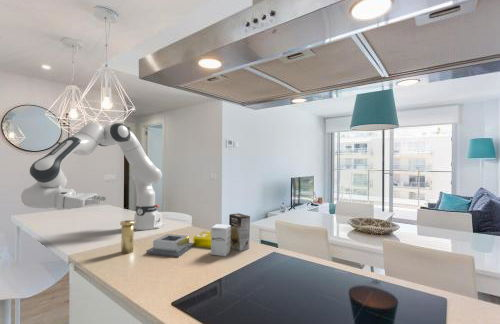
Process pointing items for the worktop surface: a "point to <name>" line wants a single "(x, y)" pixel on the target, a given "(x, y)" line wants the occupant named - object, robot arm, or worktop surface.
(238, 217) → the coffee box
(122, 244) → the brass bushing
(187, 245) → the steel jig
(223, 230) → the supplement box
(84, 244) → the worktop surface
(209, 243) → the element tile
